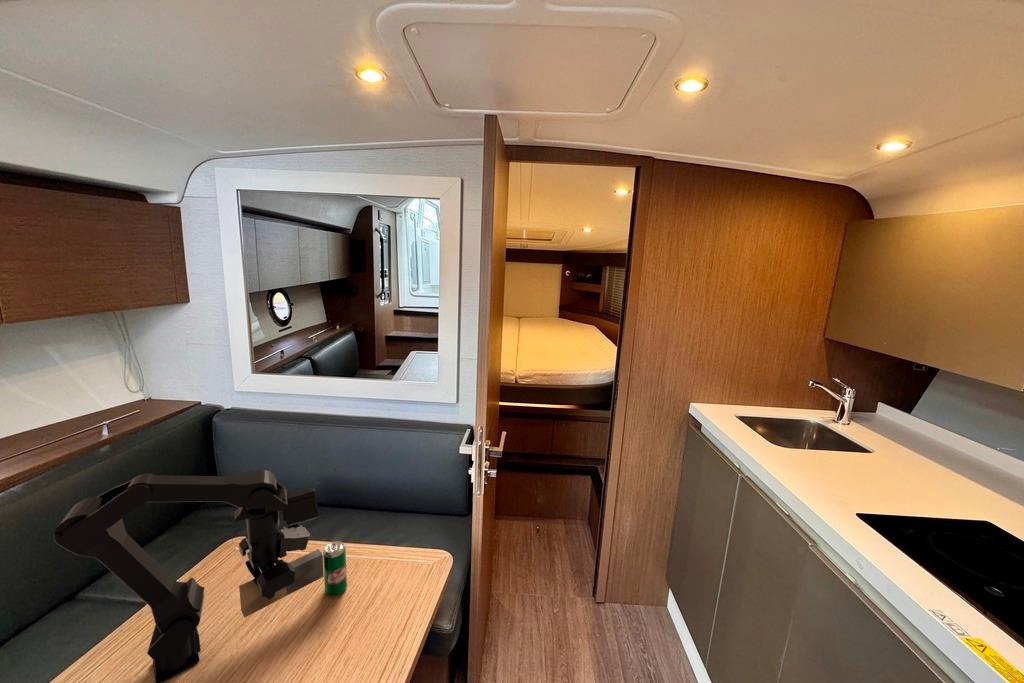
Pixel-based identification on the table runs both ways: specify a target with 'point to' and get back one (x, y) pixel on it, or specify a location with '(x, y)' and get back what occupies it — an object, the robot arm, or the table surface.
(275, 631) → the table surface
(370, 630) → the table surface
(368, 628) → the table surface
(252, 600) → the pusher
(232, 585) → the table surface
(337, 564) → the soda can
